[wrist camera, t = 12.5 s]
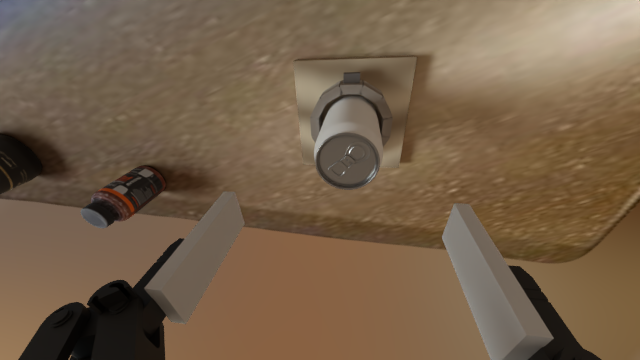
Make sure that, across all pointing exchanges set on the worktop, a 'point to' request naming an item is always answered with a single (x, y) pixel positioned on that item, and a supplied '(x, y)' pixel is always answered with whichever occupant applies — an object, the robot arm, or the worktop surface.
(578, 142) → the worktop surface
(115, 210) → the supplement bottle
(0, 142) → the jar
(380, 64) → the grey ring holder base
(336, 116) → the can
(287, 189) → the worktop surface
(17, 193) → the worktop surface
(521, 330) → the robot arm
